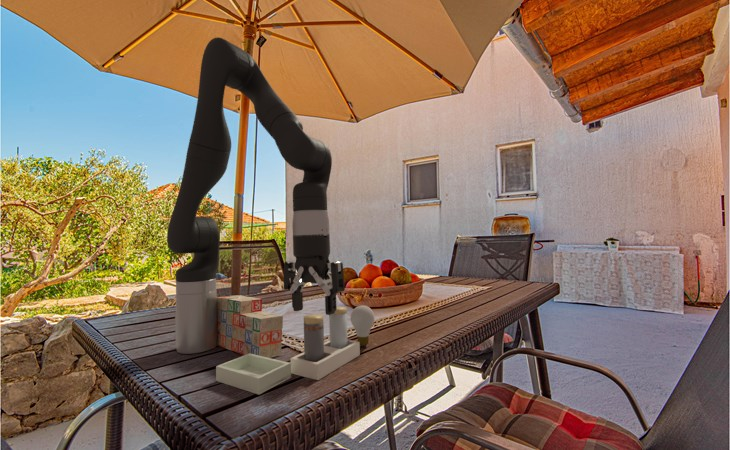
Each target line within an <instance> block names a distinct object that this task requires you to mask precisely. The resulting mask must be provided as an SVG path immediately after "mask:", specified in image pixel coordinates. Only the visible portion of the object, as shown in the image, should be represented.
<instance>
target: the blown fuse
mask: <svg viewBox="0 0 730 450" xmlns="http://www.w3.org/2000/svg"><path fill="white" fill-rule="evenodd" d="M324 329H325V328H324V315H322V314H315V313H314V314H308V315H305V316H303V341H304V343H303V344H304V345H303V346H304V348H303V350H304V351H303V352H304V355H305V360H307V361H312V362H318V361H320V360H322V359H324V343H325V334H324V333H325V332H324V331H325V330H324Z"/></svg>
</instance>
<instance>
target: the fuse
mask: <svg viewBox="0 0 730 450" xmlns="http://www.w3.org/2000/svg"><path fill="white" fill-rule="evenodd" d="M347 312H348V308H347V307H346V306H337V309H336V311H335V313H334V314H331V315H328V316H329V317H328V318H329V319H328V320H329V321H328V323H329V324H328V325H329V340H330V347H333V348H338V349H343V348H345V347H347V346H348V340H349V339H348V313H347Z"/></svg>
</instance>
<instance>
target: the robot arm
mask: <svg viewBox="0 0 730 450" xmlns="http://www.w3.org/2000/svg"><path fill="white" fill-rule="evenodd" d="M199 74H200V75H199V85H198V91H197V92H198V93H197V95H198V96H197V102H196V108H195V114H194V118H193V119H194V120H193V124H192V129H191V133H190V136H189V141H188V145H187V151H186V156H185V163H184V169H183V172H182V178H181V182H180V185H179V186H180V187H179V190H178V193H177V198H176V200H175V204H174V207H173V210H172V213H171V216H170V220H169V221H168V222H169V223H168V227H167V234H166V240H167V246H168V248H169V250H170V251H171V252H172V253H174V254H179V255H181V254H182V255H183V254H185V255H186V254H193V258H192V259H191V261H190V262H189V263H187V264H185V265H184V266H182V267H180V268H178V269H177V270H176V271H175V309H176V310H175V311H174V320H175V321H174V326H175V327H174V328H175V329H174V330H175V331H174V333H175V334H174V335H175V344H174V345H175V349H176V352H177V353H178V354H184V355H185V354H186V355H187V354H188V355H189V354H199V353H203V352H206V351H210V350H213V349H215V348H216V347H218V345H217V297H218V296H217V293H218V292H217V271H218V269H219V264H220V263H219V261H220V260H219V259H220V229H219V226H218V224H217V222H216V220H215V219H213V218H212V217H206V216H197V215H198V212H199V211H198V210H199V208H200V205H201V203H202V201H203V200H204V199H205V197H206V195H207V194H208V193H209V192H210V191H211V190H212V189H213V188H214V187H215V186H216V185H217V183H219V182H220V180H221V179H222V178H223V177H224V174H225V173H226V171H227V168H228V164H229V159H230V156H231V151H232V138H231V134H230V131H229V126H228V123H227V120H226V116H225V112H224V96H225V90H226V87H228V88H230V89H232V90H237V91H239V92H240V93H241V94H243V95H244V96H245V97H247V99H248V100H250V102H251V103H252V104H253V109H254V113H255V116H256V118H257V120H258V122H259V123H260V125H261V126H262V127H263V128H264V130H265V131H266V132H267V133H268V134H269V135H270V137H271V139H273V140H274V143H275V146H276V147H277V149H278V150H279V153H280V155H281V157H282V158H283V160H284V161H285V162H286V163H287V164H288V165H290V167H292V168H294V169H296V170H299V171H303V177H302V182H298V183H297V184H295V185H294V186H293V189H292V211H293V215H292V225H291V226H292V227H291V228H292V252H293V253H292V254H293V257H295V260H289V261H285V262H284V263H283V289H284V290H286V291H289V293H290V294H291V305H292V308H293V311H294V312H300V311H302V310H303V309H304V300H303V296H304V295H303V292H302V291H303V290H304V287H305V286H306V284H308V283H311V284H317V285H318V287H320V288H321V289H322V290H323V292H324V293H325V295H324V306H325V308H324V309H325V315H326V316H329V315H331V314H334V313H335V311H336V309H337V307H338V306H337V294H339V293H342V292H344V291H345V289H346V286H345V274H344V263H343V261H341V260H339V261H333V262H331V261H330V260H329V257H330V254H331V242H330V241H331V240H330V219H329V214H328V195H327V194H328V193H327V191H328V187H329V184H330V183H329V182H330V177H331V172H332V165H333V162H332V161H333V160H332V159H333V158H332V154H331V153H332V152H331V150H330V148H329V146H328V145H327V144H326V143H325V142H323V141H322V140H318V139H317V138H314V137H312V136H309V135H308V134H307V133H306V132H305V131H304V127H303V124H302V122H301V120H300V119H299V117H298V116H297V115H296V114H295V113H294V112H293V111H292V109H291V108H290V107H289V106H288V105H287V104H286V103H285V101H284V100H282V98H281V97H280V96H279V95H278V94H277V92H276V91H275V90H274V89H273V87H272V86H271V84H270V83H269V81H268V79H267V78H266V77H265V75H264V73H263V72H262V69H261V68H260V66H259V65H258V62H256V60H255V59H254V57H253V56H252V55H251V54H250V53H248V52H247V51H246V50H244V49H242V48H241V47H239V46H237V45H235V44H234V43H232V42H230V41H228V40H227V39H225V38H223V37H219V36H217V37H214V38H212V39H211V40H210V41H208V43H207V45H206V47H205V49H204V52H203V53H202V59H201V64H200V73H199ZM329 272H330V273H331V274H330V273H329Z"/></svg>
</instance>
